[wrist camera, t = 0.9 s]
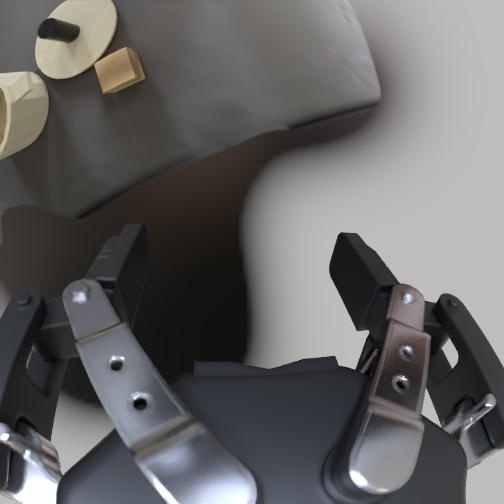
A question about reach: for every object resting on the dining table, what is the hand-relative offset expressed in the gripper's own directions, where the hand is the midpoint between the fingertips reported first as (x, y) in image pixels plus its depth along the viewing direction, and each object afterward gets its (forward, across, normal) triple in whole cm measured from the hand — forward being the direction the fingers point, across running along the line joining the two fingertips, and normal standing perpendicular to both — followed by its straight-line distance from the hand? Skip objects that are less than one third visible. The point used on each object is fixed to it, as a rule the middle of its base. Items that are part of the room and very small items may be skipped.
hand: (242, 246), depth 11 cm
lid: (+23, +21, -16) cm, 35 cm away
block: (+24, +13, -9) cm, 28 cm away
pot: (+24, +30, -7) cm, 39 cm away
